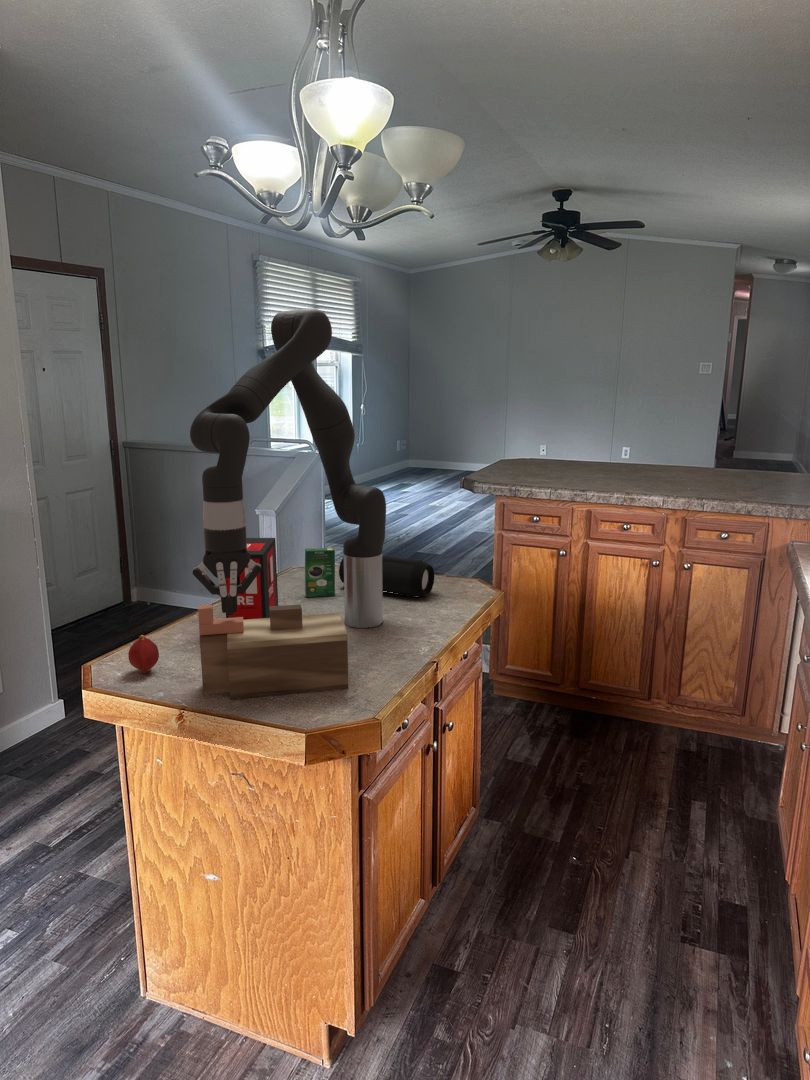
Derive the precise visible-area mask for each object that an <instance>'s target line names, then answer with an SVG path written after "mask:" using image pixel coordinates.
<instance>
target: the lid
mask: <svg viewBox="0 0 810 1080" xmlns="http://www.w3.org/2000/svg"><path fill="white" fill-rule="evenodd" d="M269 611H270V618H261V619H247V620H243V624H244V632H238V633H227V650H229V649H242V648H254V647H267V646H280V645H292V644H305V643H318V642H330V641H343V640H348V639H349V637H348V636H349V635H348V632H347V629H346V627H345V624H344V622H343V619H342V616H341V614H340V613H339V612H334V613H333V612H331V613H321V614H319V613H318V614H305V615H303V610H302V604H289V605H288V604H287V605H285V604H284V605H278V606H270V607H269Z"/></svg>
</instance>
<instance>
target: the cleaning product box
mask: <svg viewBox="0 0 810 1080" xmlns="http://www.w3.org/2000/svg"><path fill="white" fill-rule="evenodd" d="M246 539H247V551H248V553H249V555H250V559H251V560H252V561H254V562H255V563H260V564H261V571H260V572H259V574H258V575H257V576H256V578H255V579H254V580H253V582H252V583H251V584H250V586H249V587H248V589H247V590H246V591H245V592H243V593H239V594H238V595H237V612H234V615H229V616H226V615H225V618H235V617H243V620H247V619H261V618H270V611H269V607H270V606H279V595H278V594H279V593H278V592H279V591H278V569H277V568H278V567H277V566H278V565H277V548H276V547H277V543H276V537H246ZM248 567H249V565H247V566H246V567H245V569H244V570H243V572H242V573H241V575H240V576H238V577H237V585H240V584H241V582H242V581H243V580H244V578H245V577H246V576H247V574H248V573H249V572H248ZM226 585H227V591H228V594H230V578H226Z"/></svg>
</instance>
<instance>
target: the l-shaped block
mask: <svg viewBox="0 0 810 1080" xmlns="http://www.w3.org/2000/svg"><path fill="white" fill-rule="evenodd" d="M197 614H198V630H199V636H200V635H212V634H225V633H238V632H244V624H243V617H235V618H226V617H223V618H221V617H220V618H214V608H213V604H212V603H211V604H200V605H199V604H198V607H197Z"/></svg>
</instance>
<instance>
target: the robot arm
mask: <svg viewBox="0 0 810 1080" xmlns="http://www.w3.org/2000/svg"><path fill="white" fill-rule="evenodd" d="M332 328H333V327H332V323H331V321H330V318H329V316H328V315H327V314H326V313H325V312H324V311H323V310H321V309H318V308H302V309H301V308H300V309H292V310H284V311H283V310H282V311H279V312H277V313H276V314H275V315H274V317H273V318H272V320H271V325H270V333H271V338H272V342H273V345H274V347H275V350H276V351H274V352H273V353H272V354H271V355H269V356H268V357H266V358H264V359H262V360H261V361H260V362H257V363H256V364H255V365H253V366H252V367H251V368H249V369H248V370H247V371H246V372H244V374H243V375H242V376H241V377H240V378H239V379H238V380H237V381H236V382H235V384H234V385H233V386H232V387H231V388H230V389H229V390H228V392H227V393H226V394H224V395H222V396H221V397H220V398H218V399H216V400H215V401H213V402H212V403H211V404H209V405H207V407H205V408H204V409H202V410H201V411H200V412H199V413H198V414H197V416H195V417H194V420H193V421H192V423H191V426H190V428H189V437H190V441H191V443H192V445H193V446H194V447H195V448H196V449H197V450H199V451H200V452H204V453H208V454H209V453H210V454H211V453H212V454H218V458H217V463H216V465H214V466H210V467H207V468H205V469H204V471H203V472H202V476H201V477H202V479H201V481H202V496H203V500H202V501H203V502H202V503H203V507H202V525H203V535H204V536H203V538H204V555H203V558H202V562H200V563H199V564H198V565H196V566H194V567H193V569H192V575H193V576H194V578H196V579H197V580H198V581H199V582H200V584H201V585H203V586H204V588H205V589H206V590H207V591H208V592H209V593H210V595H218V596H219V597H220V603H221V604H220V607H221V611H222V613H223V614H225V617H226V616H229V615H234V612H237V595H238V594H239V593H243V592H245V591H246V590H247V589H248V587H249V586H250V584H251V583H252V582H253V580H254V579H255V578H256V576H257V575H258V574H259V572H260V571H261V564H260V563H255V562H254V561H252V560H251V559H250V555H249V553H248V551H247V539H246V538H247V518H246V510H245V503H244V489H243V474H244V471H245V465H246V462H247V461H246V460H247V457H248V452H249V448H250V447H249V446H250V441H251V440H250V438H251V436H250V430H249V426H248V425H247V424H251V423H253V422H255V421H256V420H257V419H258V418H259V417H261V415H262V414H263V413H264V411H266V409H267V408H268V406H269V405H270V404H271V403H272V401H274V399H275V398H276V396H277V395H278V394H279V393H280V392H281V391H282V390H283V389H284V388H285V387H286V386H287V385H288V384H289V383H290V382H291V384H292V386H293V388H294V391H295V393H296V396H297V399H298V401H299V403H300V406H301V408H302V411H303V413H304V416H305V420H306V422H307V426H308V429H309V431H310V434H311V437H312V439H313V442H314V444H315V447H316V449H317V452H318V455H319V457H320V458H319V459H320V461H321V464H322V466H323V467H322V468H323V469H324V473H325V476H326V480H327V483H328V486H329V492H330V495H331V496H330V497H331V499H332V500H331V501H332V505H333V507H334V510H335V512H336V515H337V516H338V518H339V520H341V521H342V522H344V523H347V524H351V525H356V526H358V533H357V535H356V536H355V537H352V538H348V539H346V540H345V541H344V542H343V547H342V550H343V557H344V583H343V585H344V587H343V589H344V623H345V624H346V625H347V626H348V627H351V628H357V629H368V627H370V628H375V627H379V626H380V625H381V623H382V622H384V596H383V595H384V594H383V593H384V592H383V565H382V556H383V548H384V547H383V546H384V543H385V540H386V539H385V538H386V521H387V519H386V518H387V502H386V497H385V494H384V492H383V491H382V490H381V489H380V488H379V487H375V486H368V485H359V484H357V483H356V481H355V479H354V477H353V474H352V471H351V466H350V459H351V456H352V453H353V448H354V444H355V438H356V437H355V436H356V433H355V429H354V425H353V422H352V419H351V416H350V412H349V410H348V408H347V405H346V404H345V402H344V400H343V399H342V398H341V397H340V395H339V394H338V393H337V392H336V391H335V390H334V389H333V388H332V387H331V386H330V385H329V384H328V383H327V382H326V381H325V380H324V379H323V378H322V377H321V375H320V374H319V372H318V371H317V369H316V368H315V366H314V364H313V362H314V361H315V360H317V359H318V357H320V356H321V355H323V354H324V352H325V351H326V350H328V349H329V348H328V347H329V346H330V344H331V342H332V338H333V330H332ZM247 565H249V567H248V572H249V573H248V574H247V576H246V577H245V578H244V580H243V581H242V582H241V584H240V585H237V577H238V576H240V575H241V573H242V572H243V570H244V569H245V567H246V566H247ZM207 569H208V570H207ZM207 571H209V572H210V573H211V575H213V576H214V577H215V578H216V579H217V581H218V585H216V583H215V582H214V581H213V580H212V579H211V578H210V577H209V576H208V575H207V574H208V573H207ZM226 578H230V594H228V591H227V585H226ZM345 624H344V625H345ZM382 624H383V623H382Z"/></svg>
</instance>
